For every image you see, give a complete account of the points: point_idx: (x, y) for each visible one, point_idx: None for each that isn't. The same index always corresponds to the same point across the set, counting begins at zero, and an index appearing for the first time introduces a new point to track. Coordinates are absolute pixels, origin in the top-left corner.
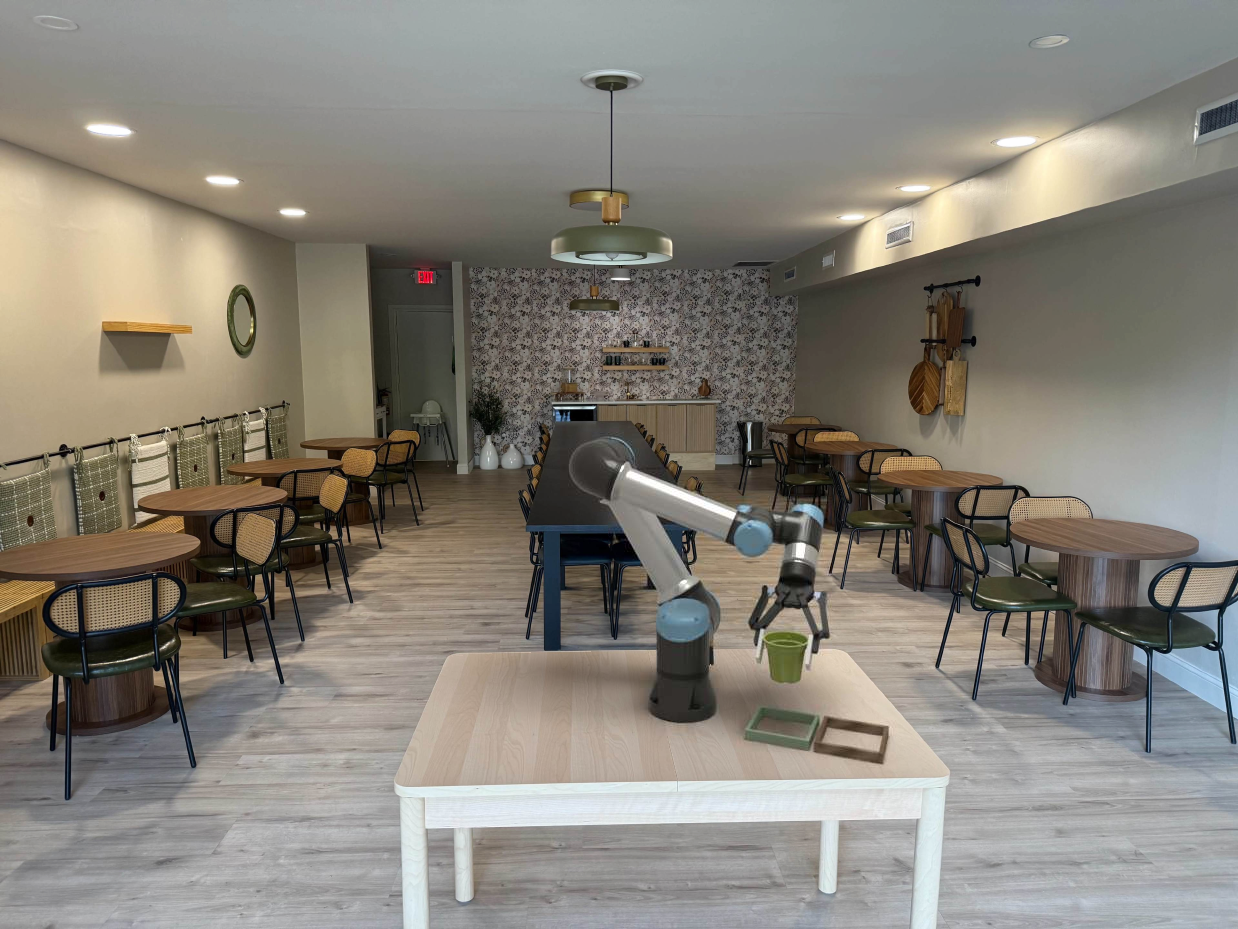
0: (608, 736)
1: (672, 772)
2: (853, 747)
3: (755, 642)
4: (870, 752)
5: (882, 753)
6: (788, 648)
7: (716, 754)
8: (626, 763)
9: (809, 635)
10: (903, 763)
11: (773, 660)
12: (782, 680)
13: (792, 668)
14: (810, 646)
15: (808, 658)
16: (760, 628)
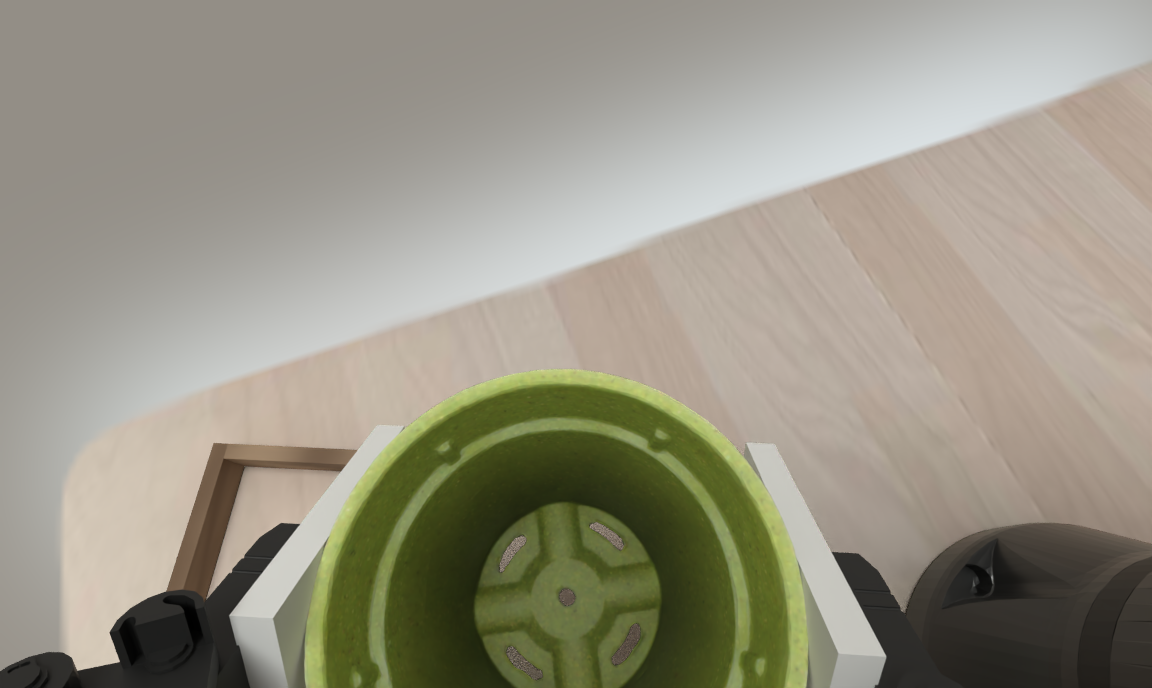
0: (1139, 339)
1: (831, 211)
2: (309, 459)
3: (848, 556)
4: (255, 446)
5: (214, 448)
6: (511, 400)
7: (758, 341)
8: (972, 213)
9: (276, 607)
10: (163, 481)
11: (639, 476)
12: (573, 497)
13: (504, 487)
14: (314, 517)
15: (366, 448)
16: (897, 685)
